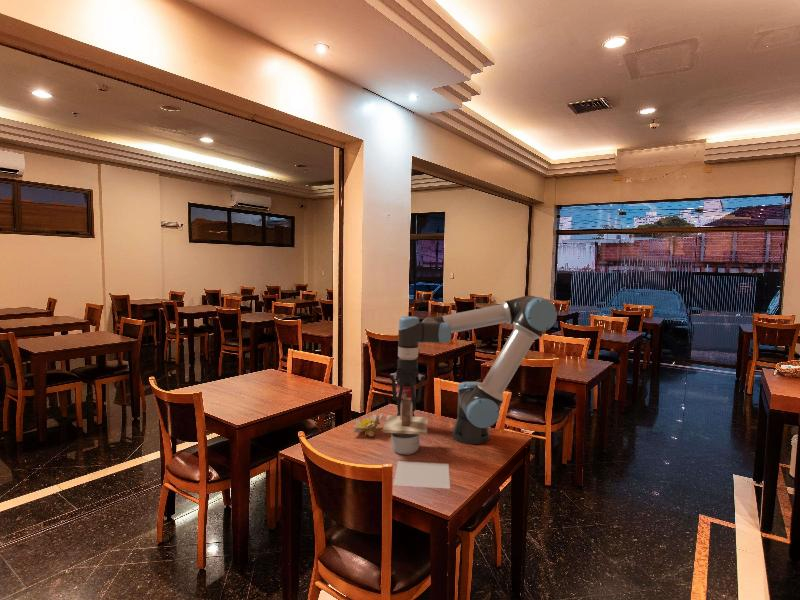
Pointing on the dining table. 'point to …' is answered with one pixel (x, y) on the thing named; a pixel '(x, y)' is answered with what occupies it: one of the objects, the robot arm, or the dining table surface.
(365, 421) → the decorative flower
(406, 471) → the mat
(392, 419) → the board
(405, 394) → the cola bottle
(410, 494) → the dining table surface
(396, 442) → the teacup
